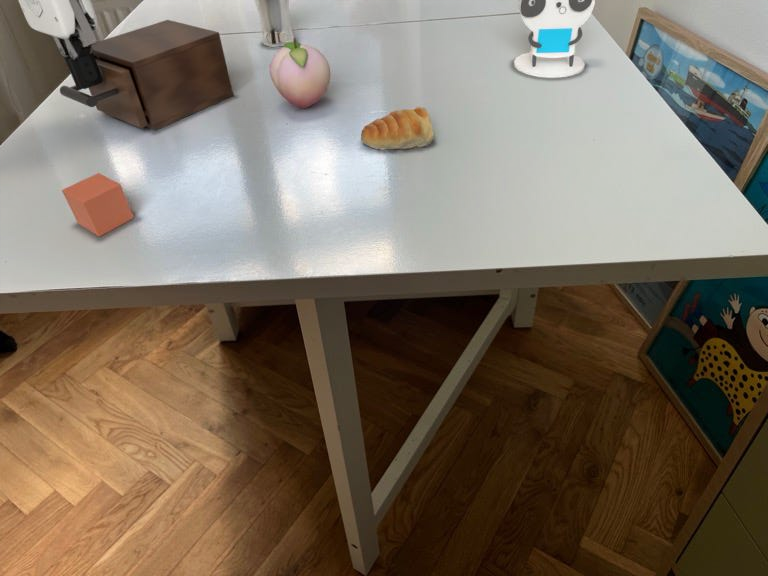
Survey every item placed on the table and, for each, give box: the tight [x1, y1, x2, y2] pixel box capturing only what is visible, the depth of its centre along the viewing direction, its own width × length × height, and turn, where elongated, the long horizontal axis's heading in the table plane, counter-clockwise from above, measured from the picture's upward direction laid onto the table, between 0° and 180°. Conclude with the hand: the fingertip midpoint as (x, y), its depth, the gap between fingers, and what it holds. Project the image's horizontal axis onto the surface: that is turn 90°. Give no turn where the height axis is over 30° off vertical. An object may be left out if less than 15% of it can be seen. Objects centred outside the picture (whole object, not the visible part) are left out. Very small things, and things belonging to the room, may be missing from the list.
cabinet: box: [92, 19, 234, 131], centre depth 83 cm, size 15×13×10 cm
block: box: [61, 172, 135, 237], centre depth 61 cm, size 4×4×4 cm
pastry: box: [360, 106, 435, 151], centre depth 73 cm, size 9×7×4 cm
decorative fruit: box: [269, 37, 331, 109], centre depth 80 cm, size 9×8×10 cm
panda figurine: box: [513, 0, 596, 79], centre depth 87 cm, size 12×11×15 cm
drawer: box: [59, 56, 148, 129], centre depth 81 cm, size 18×11×8 cm, turn 142°
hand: (90, 84), depth 76 cm, fingers closed
